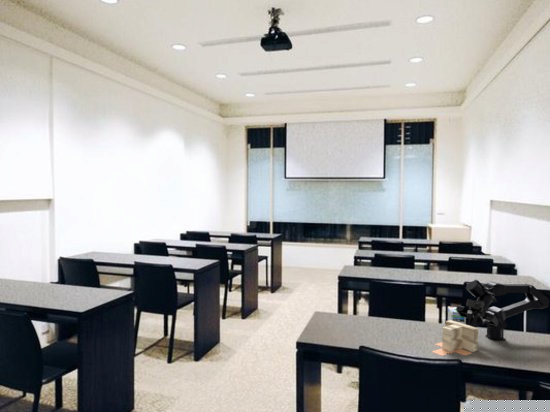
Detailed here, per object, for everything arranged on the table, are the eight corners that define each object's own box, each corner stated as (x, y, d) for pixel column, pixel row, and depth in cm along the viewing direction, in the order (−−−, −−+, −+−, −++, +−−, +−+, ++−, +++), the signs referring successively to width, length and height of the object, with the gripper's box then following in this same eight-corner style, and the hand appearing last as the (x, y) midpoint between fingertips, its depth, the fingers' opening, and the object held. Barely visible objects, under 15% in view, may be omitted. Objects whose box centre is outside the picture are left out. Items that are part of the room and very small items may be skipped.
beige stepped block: (450, 340, 187) (450, 320, 187) (478, 350, 175) (478, 328, 175) (432, 345, 181) (433, 324, 181) (460, 355, 169) (460, 332, 169)
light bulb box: (466, 333, 198) (466, 312, 197) (452, 332, 199) (452, 311, 199) (460, 326, 208) (460, 306, 208) (447, 326, 209) (447, 306, 209)
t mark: (441, 342, 185) (441, 342, 185) (472, 353, 172) (472, 353, 172) (421, 348, 178) (421, 347, 178) (452, 360, 165) (452, 359, 165)
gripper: (458, 289, 194) (443, 314, 189) (495, 297, 178) (480, 325, 172) (467, 302, 198) (453, 328, 193) (504, 312, 182) (490, 339, 177)
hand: (468, 329), depth 183 cm, fingers closed
